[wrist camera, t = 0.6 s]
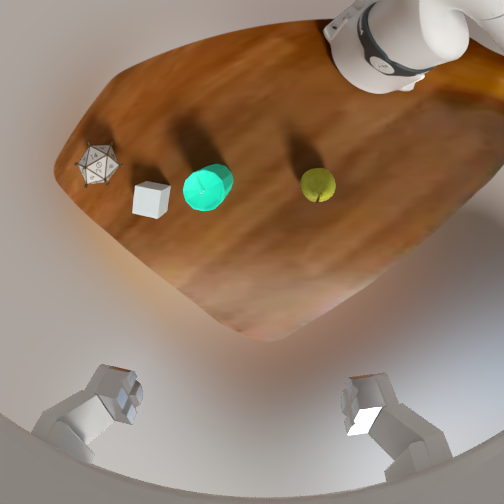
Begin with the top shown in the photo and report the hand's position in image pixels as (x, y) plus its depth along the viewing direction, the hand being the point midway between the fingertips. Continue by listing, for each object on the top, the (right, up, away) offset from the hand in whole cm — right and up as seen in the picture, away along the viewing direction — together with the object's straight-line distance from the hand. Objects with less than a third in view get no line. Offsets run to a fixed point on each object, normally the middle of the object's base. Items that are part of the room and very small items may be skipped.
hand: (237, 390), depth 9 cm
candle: (-6, +18, +37) cm, 42 cm away
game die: (-27, +23, +36) cm, 50 cm away
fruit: (+11, +17, +37) cm, 42 cm away
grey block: (-17, +16, +39) cm, 45 cm away
